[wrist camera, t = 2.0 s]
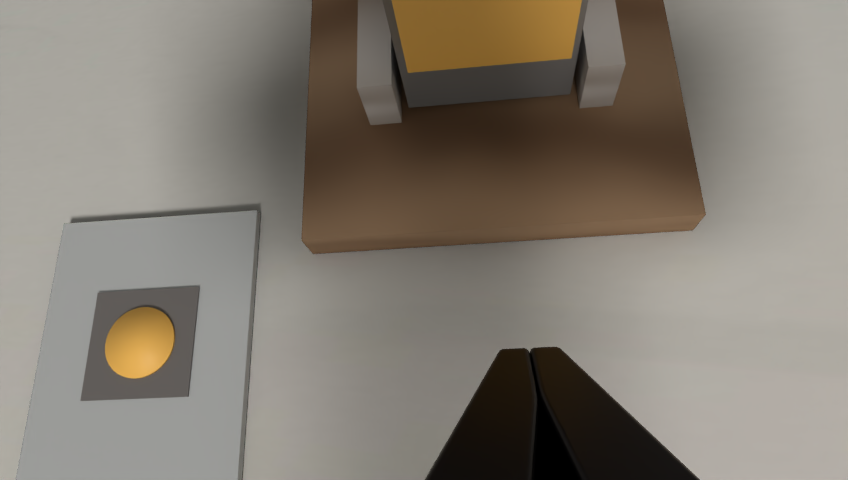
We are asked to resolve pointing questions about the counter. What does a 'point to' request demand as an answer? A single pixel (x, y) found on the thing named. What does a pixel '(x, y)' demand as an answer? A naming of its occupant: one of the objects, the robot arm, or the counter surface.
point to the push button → (485, 48)
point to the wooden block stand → (495, 143)
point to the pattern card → (146, 351)
